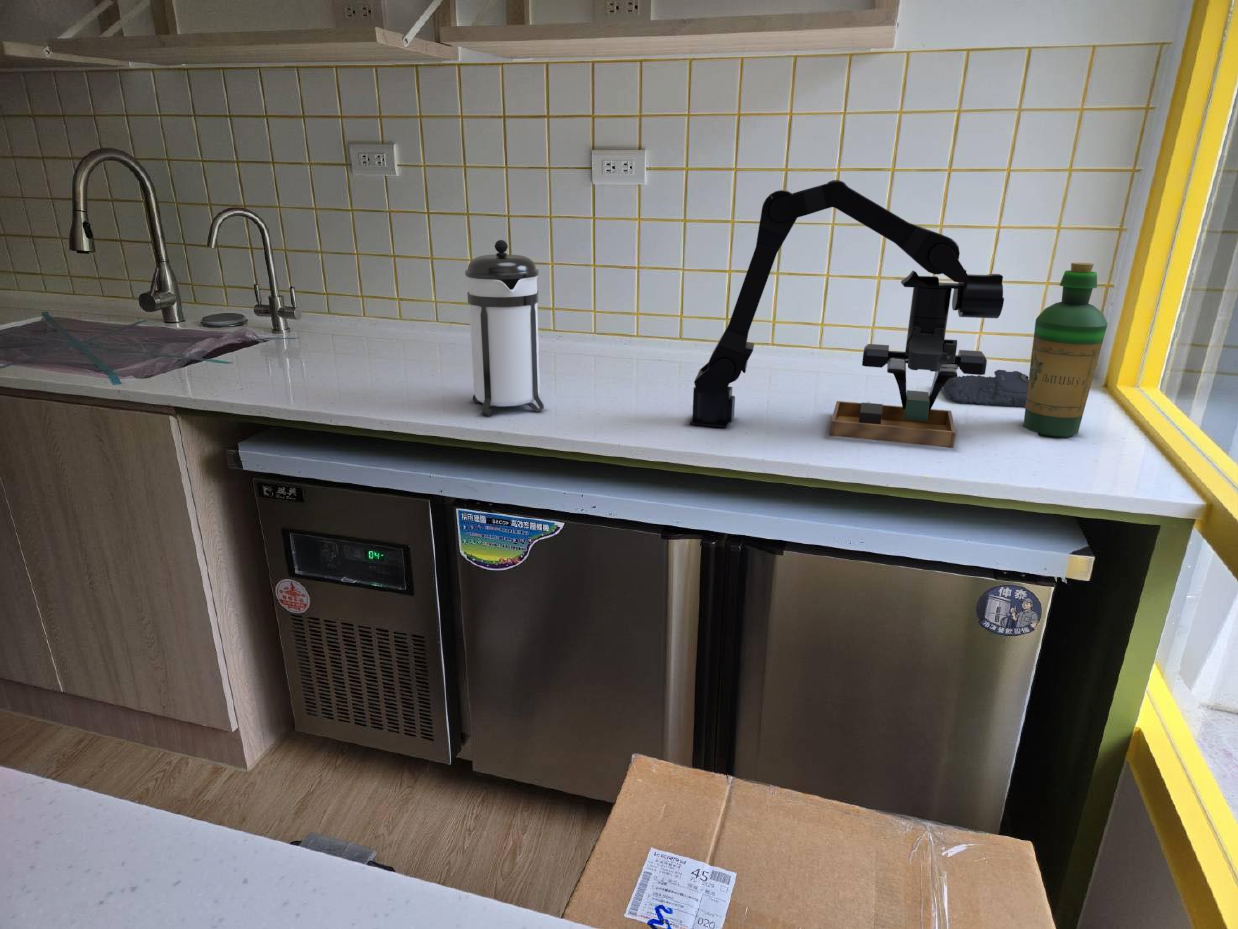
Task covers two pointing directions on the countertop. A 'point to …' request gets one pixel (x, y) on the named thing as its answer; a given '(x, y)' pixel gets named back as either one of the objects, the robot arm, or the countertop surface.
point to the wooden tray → (894, 426)
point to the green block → (916, 406)
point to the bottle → (1064, 356)
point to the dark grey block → (870, 413)
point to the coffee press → (504, 330)
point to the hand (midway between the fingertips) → (915, 409)
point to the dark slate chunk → (989, 389)
